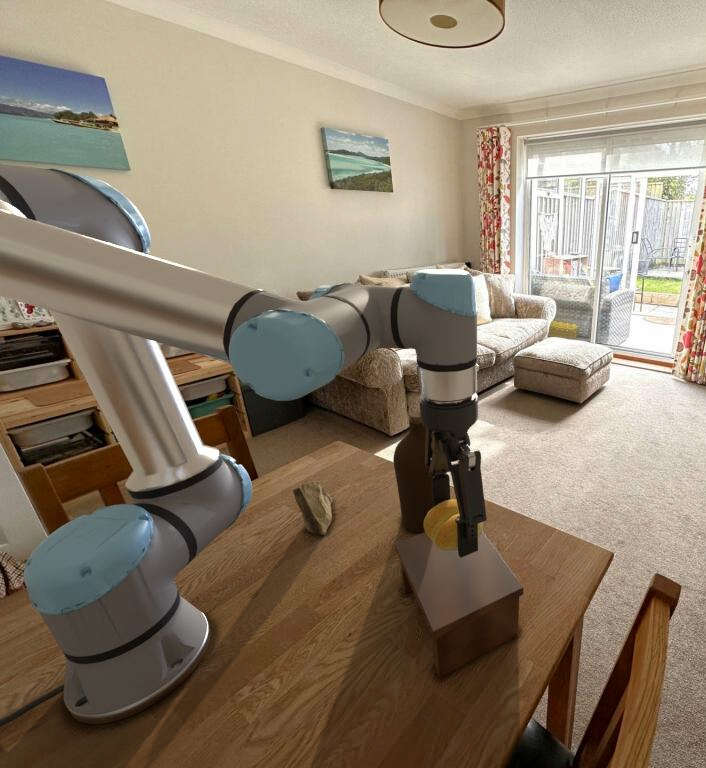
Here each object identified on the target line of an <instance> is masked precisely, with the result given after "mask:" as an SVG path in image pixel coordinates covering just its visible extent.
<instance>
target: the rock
mask: <svg viewBox="0 0 706 768" xmlns="http://www.w3.org/2000/svg"><path fill="white" fill-rule="evenodd" d="M292 493H293V496H294V499H295V502H296V504H297V506H298V508H299V511H300V512H301V516H302V519H303V523H304V525H305V529H306V530H307V531H308V532H310V533H313V534H314V535H322V536H325V535H326V534H327V531H328V528H329V526H330V525H331V523H332V518H333V515H332V506H331V505H332V503H333V498H332V497H331V495H330V494H329V493H328V491H327V490H326V489H325V488H324V487H322V486H321V484H320V481H319V480H315V481H307V482H304V483H303V484H301V486H298V487H295V488H293V489H292Z"/></svg>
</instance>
